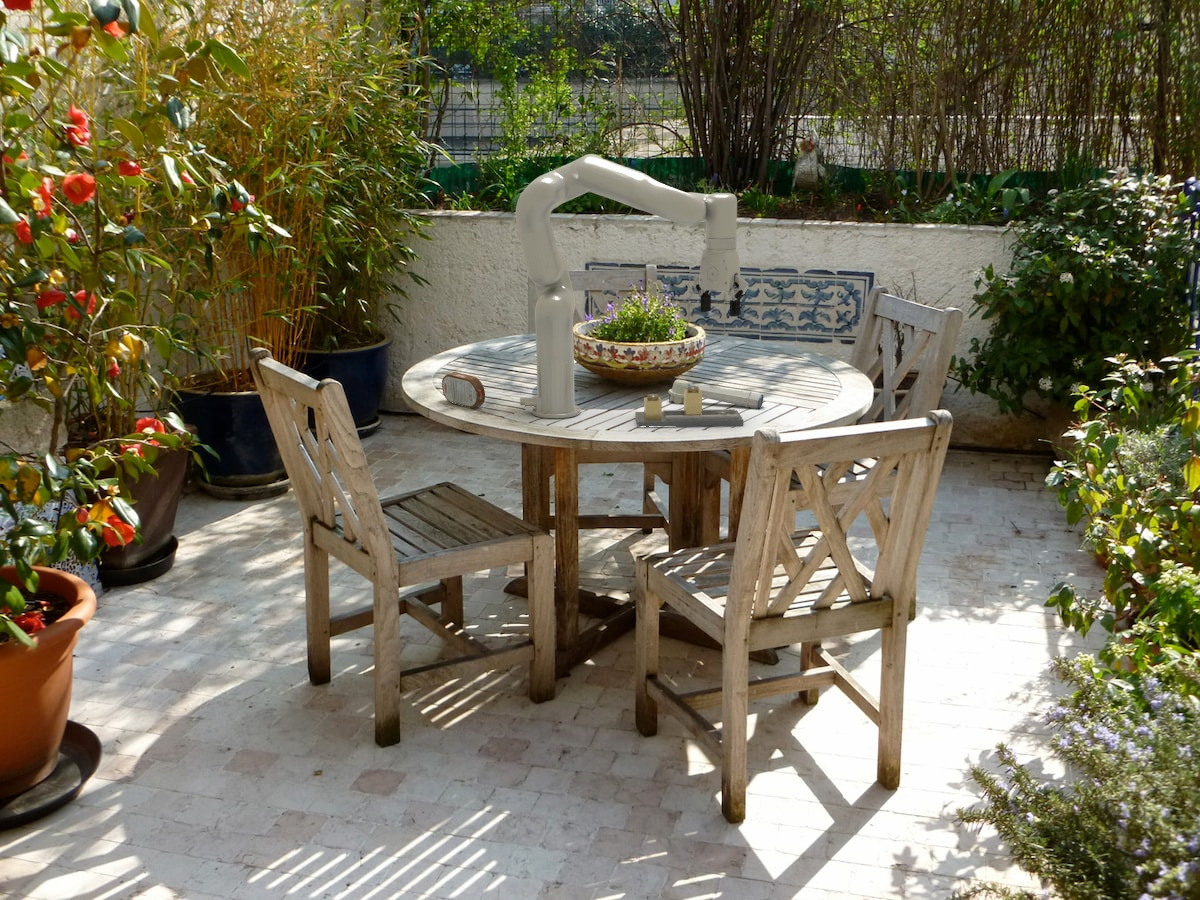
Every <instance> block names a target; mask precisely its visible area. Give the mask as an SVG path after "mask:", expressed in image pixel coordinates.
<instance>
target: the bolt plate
mask: <svg viewBox="0 0 1200 900" xmlns="http://www.w3.org/2000/svg"><path fill="white" fill-rule="evenodd" d="M635 417H636V418H635ZM634 418H635V421H637V422H636V424H637V423H638V425H637V427H638V426H646V427H649V426H676V427H675V428H700V427H701V428H702V427H704V428H705V427H707V428H708V427H709V428H712V427H744V422H745V421H744V419H743V417H742V415H741V414H740V413H739V411H738V409H737V410H736V409H735V408H729V409H728V408H721V409H720V408H718V409H715V408H714V409H710V408H709V409H702V415H685V414H684V409H664V410H662V419H645V416H644V411H635V412H634Z"/></svg>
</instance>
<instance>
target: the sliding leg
mask: <svg viewBox="0 0 1200 900" xmlns="http://www.w3.org/2000/svg"><path fill="white" fill-rule="evenodd" d="M702 408H703V397H702V392H701V390H700V389H699V387H698V386H688V387H687V389H684V403H683V410H684V414H685V415H702V410H703V409H702Z"/></svg>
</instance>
